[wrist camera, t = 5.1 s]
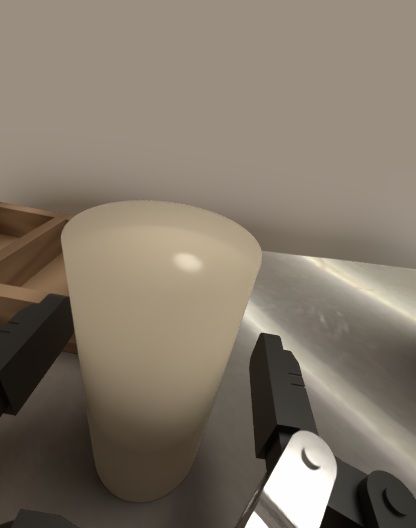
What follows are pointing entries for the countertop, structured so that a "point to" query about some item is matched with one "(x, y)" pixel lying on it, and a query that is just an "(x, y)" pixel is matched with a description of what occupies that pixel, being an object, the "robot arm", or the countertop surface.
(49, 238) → the wooden divided tray
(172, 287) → the cream pillar candle
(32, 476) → the countertop surface
